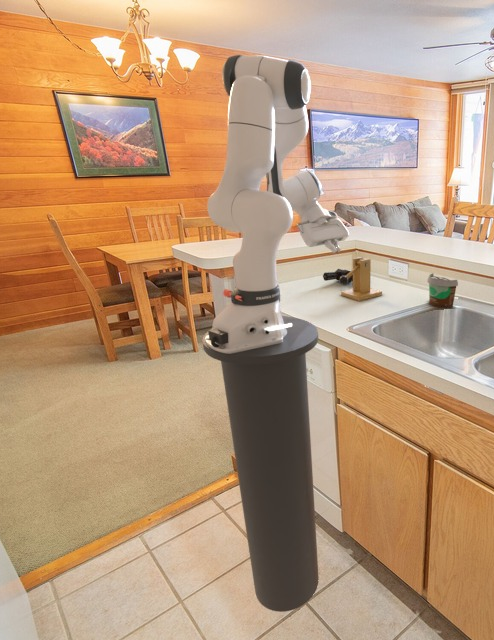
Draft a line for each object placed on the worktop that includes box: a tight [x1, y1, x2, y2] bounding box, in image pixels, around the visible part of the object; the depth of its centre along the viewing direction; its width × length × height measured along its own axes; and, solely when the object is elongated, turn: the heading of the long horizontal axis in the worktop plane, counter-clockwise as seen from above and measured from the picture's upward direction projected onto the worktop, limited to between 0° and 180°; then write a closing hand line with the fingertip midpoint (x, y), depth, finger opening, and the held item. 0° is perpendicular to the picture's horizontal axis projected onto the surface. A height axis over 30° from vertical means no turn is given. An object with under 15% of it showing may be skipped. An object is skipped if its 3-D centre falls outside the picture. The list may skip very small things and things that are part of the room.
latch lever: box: [338, 258, 365, 286], centre depth 159 cm, size 13×3×3 cm, turn 134°
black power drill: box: [322, 268, 353, 284], centre depth 180 cm, size 5×20×15 cm
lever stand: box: [340, 256, 383, 302], centre depth 163 cm, size 12×10×14 cm
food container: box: [426, 272, 459, 309], centre depth 155 cm, size 12×6×10 cm, turn 42°
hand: (337, 251), depth 155 cm, fingers closed
